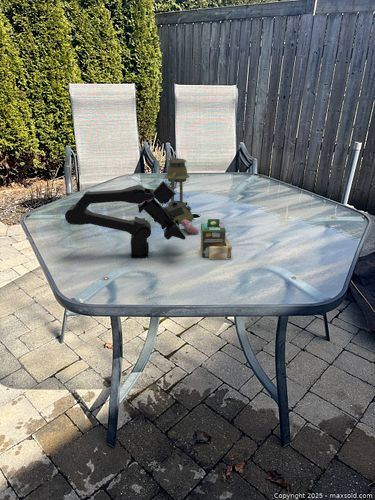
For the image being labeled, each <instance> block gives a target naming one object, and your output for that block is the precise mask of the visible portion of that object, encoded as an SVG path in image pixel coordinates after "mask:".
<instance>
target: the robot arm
mask: <svg viewBox="0 0 375 500" xmlns="http://www.w3.org/2000/svg"><path fill="white" fill-rule="evenodd" d="M175 191H176V190H175V189H174V190H173V189H172V188H171V186H170V184H168V183H167V182H166V181H161V182H160V183H159V184H158V186H157V187H155V189H152V188H145V187H144V186H143V185H141V184H136V185H132V186H129V187H125V188H123V189H114V190H113V189H112V190H110V189H109V190H100V191H98V190H97V191H96V190H95V191H85V192H84V193H83V195H82V196H81V197H80V199H79V200H78V201H77V202H76V203H75V204H72V205H70V206H69V207H68V209H67V210H66V212H65V214H64V219H65V221H66V222H67V223H68V224H69V225H74V226H75V225H77V226H83V225H94V226H98V227H103V228H107V229H111V230H116V231H121V232H127V233H128V234H129V235H131V236H130V251H131V252H130V258H134V259H135V258H137V259H138V258H148V255H149V254H150V247H149V245H150V244H149V242H148V238H149V237H151V234H152V226H151V223H150V222H149V221H148V220H147V219H146V218H145V217H143V218H141V217H138V216H134V217H133V218H134V219H130V220H129V219H123V218H120V217H114V216H110V215H106V214H101V213H97V212H93V211H91V210H89V209H88V207H89V206H90V205H91V204H102V203H103V204H105V203H116V202H117V203H118V202H121V203H122V202H123V203H124V202H125V203H128V204H135V205H137V207H138V213H139V214H141V213H142V212H143V211H145V212H146V213H147V214H148V215H149V217H150V218H152V219H153V222H154V223H157V224H158V225H159V226H160V228H161V229H162V230H163V237H164V238H165V239H166V240H170V239H171V238H172V237H175V238H177V239H181V240H183V241H184V240H186V236H185V234H184V232H183V230H182V229H181V228H180V224H179V222H178V219H177V220H176V221H174V220H175V219H174V218H175V217H177V216H179V215H183V214H184V213H185V212H184V209H183V207H182V205H181V203H179V204H178V203H177V202H176V201H177V200H174V201H175V202H172V207H170V208H169V209H167V208H166V206H162V204H163V205H164V204H165V205H167V203H169V202H170V201H171V198H172V197H173V196H174V197H175V196H176V194H177V191H176V192H175ZM168 201H169V202H168Z"/></svg>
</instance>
